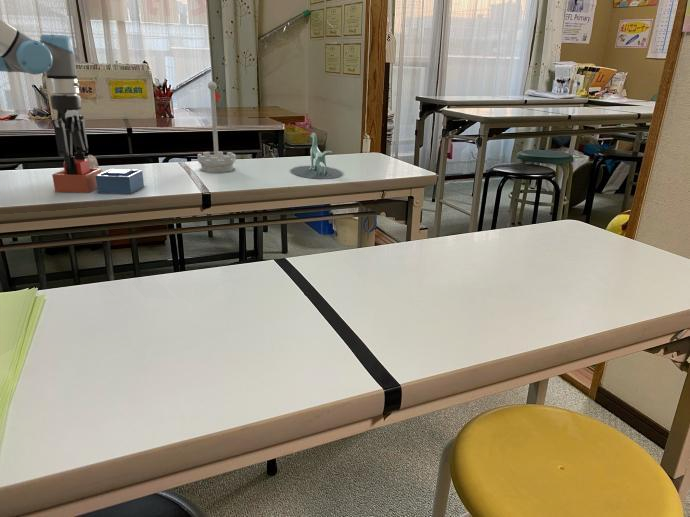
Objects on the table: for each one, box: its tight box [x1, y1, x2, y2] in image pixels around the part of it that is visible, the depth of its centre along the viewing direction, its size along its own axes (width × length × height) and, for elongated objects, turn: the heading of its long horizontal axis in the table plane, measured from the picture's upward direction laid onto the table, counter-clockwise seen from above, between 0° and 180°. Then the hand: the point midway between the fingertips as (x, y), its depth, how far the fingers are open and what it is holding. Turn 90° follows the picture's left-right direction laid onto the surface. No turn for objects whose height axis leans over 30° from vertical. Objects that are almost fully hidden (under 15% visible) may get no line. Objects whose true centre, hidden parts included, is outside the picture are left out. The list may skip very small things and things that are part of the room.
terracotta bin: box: [51, 168, 103, 194], centre depth 153 cm, size 10×10×5 cm
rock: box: [85, 154, 105, 173], centre depth 165 cm, size 6×14×7 cm, turn 38°
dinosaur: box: [290, 132, 343, 180], centre depth 182 cm, size 25×18×13 cm
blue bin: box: [96, 168, 145, 195], centre depth 152 cm, size 10×10×5 cm
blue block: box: [108, 168, 133, 176], centre depth 152 cm, size 5×5×5 cm
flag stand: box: [197, 80, 236, 173], centre depth 179 cm, size 13×13×30 cm
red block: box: [62, 159, 90, 175], centre depth 151 cm, size 5×5×5 cm
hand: (77, 176), depth 152 cm, fingers closed on red block, 5 cm apart
